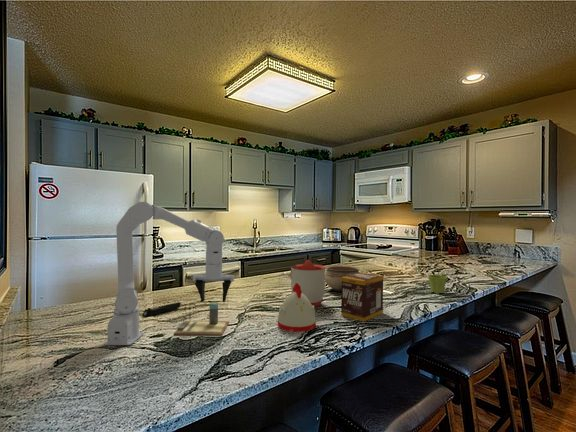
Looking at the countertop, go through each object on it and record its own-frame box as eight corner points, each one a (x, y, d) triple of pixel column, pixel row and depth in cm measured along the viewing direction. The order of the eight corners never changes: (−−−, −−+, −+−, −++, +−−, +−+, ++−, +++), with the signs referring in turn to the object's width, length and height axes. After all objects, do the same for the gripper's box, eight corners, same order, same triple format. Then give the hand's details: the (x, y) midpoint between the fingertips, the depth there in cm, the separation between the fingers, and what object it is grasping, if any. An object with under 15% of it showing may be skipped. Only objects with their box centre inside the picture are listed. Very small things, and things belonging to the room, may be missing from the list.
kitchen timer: (283, 333, 105) (283, 289, 105) (273, 319, 118) (274, 280, 118) (321, 329, 108) (321, 286, 108) (308, 317, 122) (308, 279, 122)
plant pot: (428, 294, 158) (428, 277, 158) (426, 290, 167) (426, 274, 167) (448, 295, 156) (449, 278, 156) (445, 291, 165) (445, 275, 165)
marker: (217, 324, 110) (217, 304, 110) (208, 324, 110) (208, 305, 110) (218, 321, 113) (218, 302, 113) (210, 321, 113) (210, 302, 113)
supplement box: (340, 315, 124) (340, 276, 124) (361, 307, 134) (361, 271, 134) (363, 322, 116) (363, 280, 116) (383, 313, 127) (383, 275, 127)
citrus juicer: (293, 297, 150) (294, 256, 150) (329, 301, 143) (329, 258, 143) (281, 306, 135) (281, 260, 135) (319, 311, 129) (320, 263, 129)
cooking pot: (372, 294, 158) (372, 270, 158) (343, 298, 149) (343, 273, 149) (341, 284, 180) (341, 263, 180) (314, 287, 171) (314, 265, 171)
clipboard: (222, 335, 102) (222, 331, 102) (173, 335, 102) (173, 330, 102) (228, 322, 114) (228, 319, 114) (185, 322, 114) (185, 318, 114)
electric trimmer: (182, 310, 131) (182, 302, 131) (146, 318, 119) (146, 310, 119) (177, 308, 133) (178, 301, 133) (141, 316, 122) (142, 308, 122)
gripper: (235, 261, 115) (235, 298, 115) (196, 261, 115) (196, 297, 115) (232, 264, 108) (232, 303, 108) (191, 264, 108) (190, 303, 108)
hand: (213, 301), depth 111 cm, fingers open, 7 cm apart
